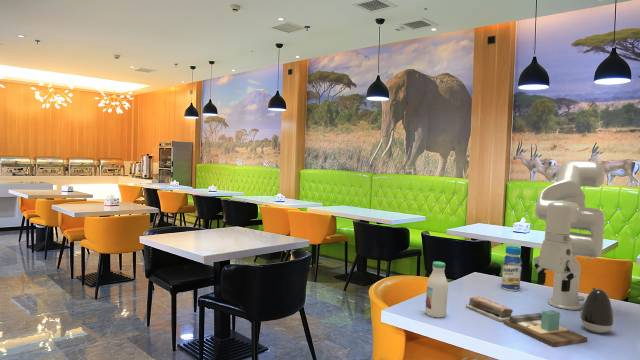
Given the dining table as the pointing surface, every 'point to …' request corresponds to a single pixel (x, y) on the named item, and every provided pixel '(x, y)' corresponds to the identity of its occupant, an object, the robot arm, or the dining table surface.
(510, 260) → the beverage bottle
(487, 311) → the packaged product
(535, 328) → the teal block on plate
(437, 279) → the milk bottle
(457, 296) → the dining table surface
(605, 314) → the brown egg-shaped diffuser
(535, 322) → the ticket board
